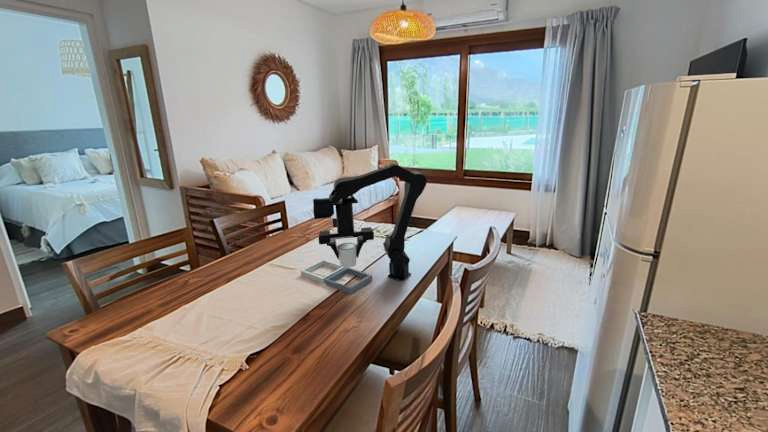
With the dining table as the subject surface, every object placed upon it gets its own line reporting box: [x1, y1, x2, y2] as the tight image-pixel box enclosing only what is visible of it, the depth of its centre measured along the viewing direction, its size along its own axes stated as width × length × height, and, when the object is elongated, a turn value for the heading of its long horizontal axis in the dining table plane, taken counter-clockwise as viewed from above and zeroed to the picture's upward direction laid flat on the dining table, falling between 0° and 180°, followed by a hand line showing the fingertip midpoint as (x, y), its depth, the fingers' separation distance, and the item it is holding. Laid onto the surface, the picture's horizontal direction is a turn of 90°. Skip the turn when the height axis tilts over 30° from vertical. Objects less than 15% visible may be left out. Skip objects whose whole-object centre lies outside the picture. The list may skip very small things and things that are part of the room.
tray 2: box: [324, 267, 373, 295], centre depth 125 cm, size 12×12×2 cm
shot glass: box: [337, 242, 357, 268], centre depth 122 cm, size 7×7×7 cm
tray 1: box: [300, 258, 345, 285], centre depth 132 cm, size 12×12×2 cm
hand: (347, 258), depth 122 cm, fingers closed on shot glass, 6 cm apart
